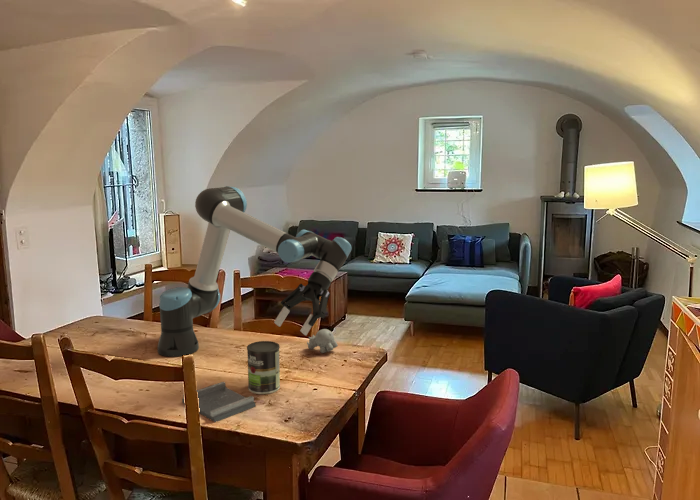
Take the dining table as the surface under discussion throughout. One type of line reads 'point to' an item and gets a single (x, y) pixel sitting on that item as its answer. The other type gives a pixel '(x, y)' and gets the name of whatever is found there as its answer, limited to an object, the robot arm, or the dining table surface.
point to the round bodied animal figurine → (322, 341)
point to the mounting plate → (222, 402)
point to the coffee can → (263, 367)
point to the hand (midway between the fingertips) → (289, 328)
